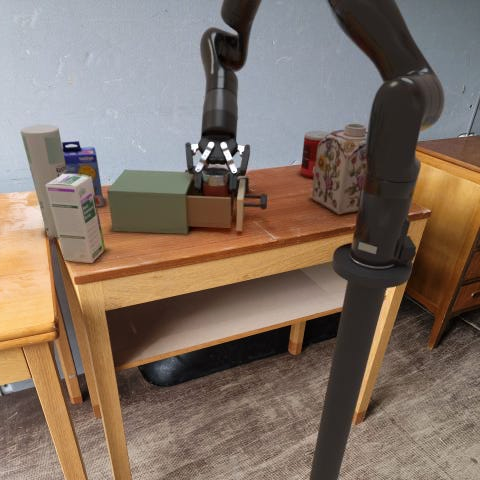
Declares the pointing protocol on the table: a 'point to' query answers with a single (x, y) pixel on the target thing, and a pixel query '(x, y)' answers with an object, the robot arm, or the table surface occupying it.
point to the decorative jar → (341, 169)
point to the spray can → (44, 165)
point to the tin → (215, 182)
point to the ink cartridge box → (84, 165)
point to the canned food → (311, 152)
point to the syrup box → (76, 217)
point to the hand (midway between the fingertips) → (215, 192)
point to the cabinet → (150, 201)
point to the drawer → (218, 208)
